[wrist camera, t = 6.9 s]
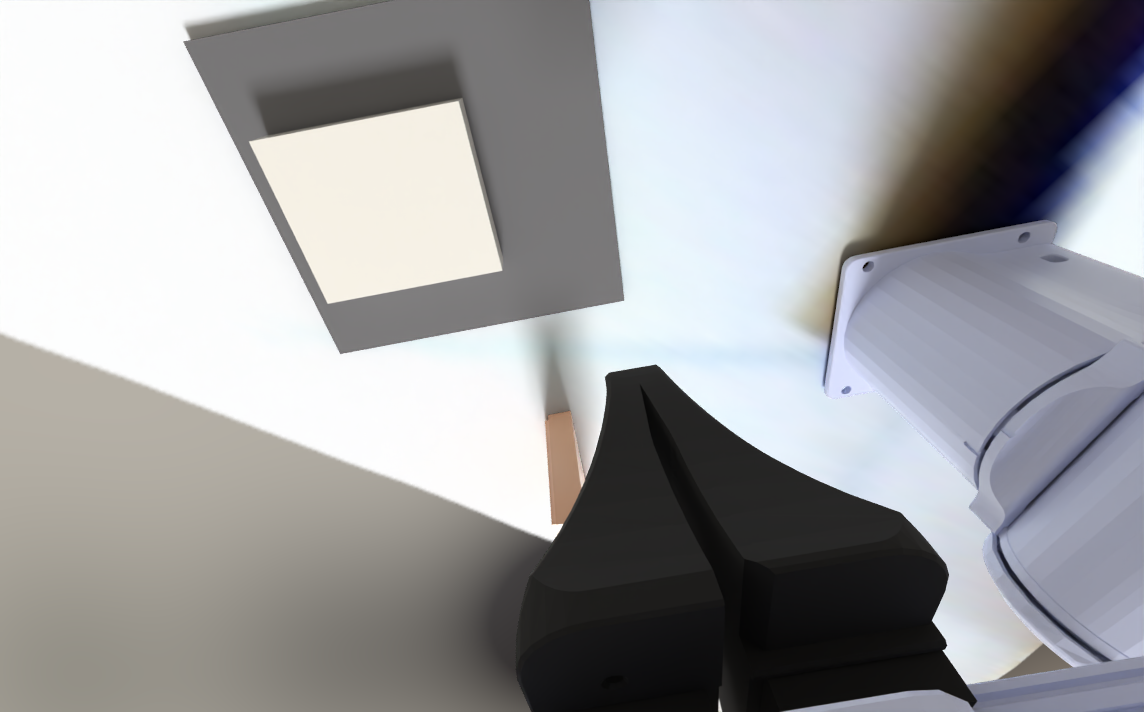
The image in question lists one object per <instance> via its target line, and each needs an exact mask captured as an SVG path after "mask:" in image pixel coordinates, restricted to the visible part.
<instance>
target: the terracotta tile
mask: <svg viewBox="0 0 1144 712" xmlns="http://www.w3.org/2000/svg"><path fill="white" fill-rule="evenodd" d="M545 427H546V442H547V458H548V473H549V488H550V504H551V519H552V527H553V531H554V534H555V538H556V536H557V534H558V532H559V531H560V529H561V527H562V525H563V524H564V522H565V520H566V518H567V517H568V515H569V513H570V511H571V509H572V507H573V505H574V503H575V501H576V499H577V497H578V495H579V493H580V490H581V488H582V486H583V484H584V481H585V476H584V472H583V467H582V462H581V458H580V453H579V448H578V443H577V439H576V434H575V429H574V425H573V420H572V415H571V411H567V412H561V413H556V414H551V415H548V420H547V421H545Z"/></svg>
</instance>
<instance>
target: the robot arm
mask: <svg viewBox="0 0 1144 712" xmlns="http://www.w3.org/2000/svg"><path fill="white" fill-rule="evenodd" d="M1056 232H1057V224H1056V223H1055V222H1052V221H1049V220H1041V221H1035V222H1030V223H1025V224H1019V225H1014V226H1009V227H1003V228H998V229H993V230H987V231H982V232H977V233H972V234H966V235H961V236H956V237H950V238H945V239H940V240H934V241H929V242H924V243H918V244H913V245H908V246H903V247H897V248H892V249H887V250H881V251H876V252H871V253H865V254H860V255H855V256H852V257H850V258H848V259H847V260H846V261H845V262H844V264H843V266H842V271H841V278H840V285H839V292H838V298H837V305H836V312H835V319H834V325H833V332H832V339H831V346H830V353H829V359H828V366H827V373H826V380H825V386H824V393H825V394H826V395H827V396H828V398H830V399H837V398H843V397H848V396H854V395H859V394H865V393H870V392H875V391H876V392H877V393H878V394H879V395H880V396H881V397H882V398H883V399H884V400H885V401H886V402H887V403H888V404H889V405H890V406H891V407H892V408H893V409H894V410H895V411H896V412H897V413H898V414H899V415H900V416H901V417H903V418H904V419H905V420H906V421H907V422H908V423H909V424H910V425H911V426H912V427H913V428H914V429H915V430H916V431H917V432H918V433H919V434H920V435H921V436H922V437H923V438H924V439H925V440H926V441H927V442H928V443H929V444H930V445H931V446H932V447H933V448H934V449H936V450H937V451H938V452H939V453H940V454H941V455H942V456H943V457H944V458H945V459H946V460H947V461H948V462H949V463H950V464H951V465H952V466H953V467H954V468H955V469H956V470H957V471H958V472H959V473H960V474H961V475H962V476H963V477H964V478H965V479H966V480H968V481H969V482H970V483H971V484H972V485H973V486H974V487H975V488H976V489H977V490H978V493H977V495H976V497H975V499H974V500H973V501H972V502H971V504H970V505H969V509H970V510H971V511H972V512H973V513H974V514H975V515H976V516H977V517H978V518H979V519H980V520H981V521H982V522H983V523H984V524H985V525H986V526H987V527H988V528H989V529H990V530H991V531H992V532H991V533H990V534H989V535H988V536H987V538H986V539H985V541H984V544H983V549H982V550H983V558H984V561H985V564H986V566H987V569H988V572H989V574H990V575H991V577H992V579H993V581H994V583H995V584H996V586H997V588H998V590H999V592H1000V593H1001V595H1002V597H1003V598H1004V600H1005V601H1006V603H1007V604H1008V605H1009V607H1010V608H1011V609H1012V611H1013V612H1014V613H1015V614H1016V615H1017V617H1018V618H1019V619H1020V620H1021V621H1022V622H1023V623H1024V624H1025V625H1026V627H1027V628H1028V629H1029V630H1030V631H1031V632H1032V633H1033V634H1034V635H1035V636H1036V637H1038V638H1039V639H1040V640H1041V641H1042V642H1043V643H1044V644H1045V645H1046V646H1047V647H1049V648H1050V649H1051V650H1052V651H1053V652H1055V653H1056V654H1057V655H1058V656H1060V657H1061V658H1062V659H1063V660H1065V661H1066V662H1067V663H1069V664H1070V665H1071V666H1073V668H1067V669H1060V670H1054V671H1049V672H1042V673H1036V674H1030V675H1024V676H1018V677H1012V678H1006V679H999V680H993V681H987V682H981V683H975V684H969V685H966V684H965V682H964V681H963V679H962V678H961V676H960V675H959V674H958V672H957V671H956V669H955V668H954V666H953V665H952V663H951V662H950V661H949V659H948V658H947V656H946V655H945V653H944V652H943V651H942V650H945V648H946V646H947V644H946V640H945V638H944V637H943V636H942V634H941V633H940V631H939V630H938V629H937V627H936V626H935V624H934V623H933V622H932V619H933V617H934V615H935V612H936V610H937V608H938V606H939V604H940V601H941V599H942V597H943V595H944V593H945V590H946V585H947V581H948V577H949V573H948V570H947V566H946V564H945V562H944V561H943V560H942V559H941V557H940V556H939V555H938V554H937V553H936V551H935V550H934V549H933V548H932V546H931V545H930V544H929V543H928V541H927V540H926V539H925V538H924V537H923V536H922V534H921V533H920V532H919V531H918V530H917V529H916V528H915V527H914V526H913V525H912V524H911V523H910V522H909V521H908V520H907V519H906V518H905V517H904V516H903V514H902V513H900V512H897V511H895V510H892V509H889V508H886V507H883V506H881V505H878V504H875V503H872V502H870V501H867V500H864V499H861V498H859V497H856V496H853V495H850V494H848V493H845V492H843V491H841V490H838V489H836V488H834V487H831V486H829V485H827V484H824V483H822V482H820V481H817V480H815V479H813V478H811V477H809V476H807V475H805V474H803V473H800V472H799V471H797V470H795V469H793V468H791V467H789V466H787V465H785V464H783V463H781V462H779V461H778V460H776V459H774V458H772V457H770V456H769V455H767V454H765V453H763V452H762V451H760V450H758V449H757V448H755V447H754V446H752V445H751V444H749V443H747V442H746V441H744V440H743V439H741V438H740V437H739V436H737V435H736V434H734V433H733V432H732V431H730V430H729V429H728V428H726V427H725V426H724V425H722V424H721V423H720V422H718V421H717V420H716V419H715V418H713V417H712V416H711V415H710V414H708V413H707V412H706V411H705V410H704V409H703V408H701V407H700V406H699V405H698V404H697V403H696V402H694V401H693V400H692V399H691V398H690V397H689V396H688V395H687V394H686V393H685V392H684V391H682V390H681V389H680V388H679V387H678V386H677V385H676V384H675V383H674V382H673V381H672V380H671V379H670V378H669V377H668V376H667V374H666V373H665V372H664V371H663V370H662V369H661V368H660V367H659V366H657V365H651V366H645V367H639V368H634V369H628V370H622V371H616V372H610V373H608V374H607V376H606V377H605V380H606V387H607V396H606V406H605V412H604V418H603V424H602V428H601V432H600V436H599V440H598V444H597V447H596V451H595V454H594V457H593V460H592V463H591V466H590V469H589V471H588V474H587V476H586V479H585V481H584V484H583V486H582V488H581V490H580V493H579V495H578V497H577V499H576V501H575V503H574V505H573V507H572V509H571V511H570V513H569V515H568V517H567V518H566V520H565V522H564V524H563V525H562V527H561V529H560V531H559V532H558V534H557V536H556V538H555V539H554V541H553V542H552V544H551V546H550V547H549V549H548V550H547V551H546V553H545V554H544V556H543V557H542V559H541V560H540V562H539V563H538V564H537V566H536V567H535V569H534V570H533V571H532V573H531V575H530V576H529V580H528V583H527V587H526V591H525V594H524V598H523V602H522V606H521V610H520V616H519V621H518V629H517V637H516V673H517V680H518V682H519V685H520V687H521V689H522V691H523V694H524V696H525V698H526V701H527V703H528V705H529V707H530V710H531V712H718V706H719V701H720V705H721V709H722V712H1144V278H1143V277H1140V276H1138V275H1135V274H1132V273H1129V272H1127V271H1124V270H1121V269H1119V268H1116V267H1113V266H1111V265H1108V264H1105V263H1102V262H1100V261H1097V260H1094V259H1092V258H1089V257H1086V256H1083V255H1081V254H1078V253H1075V252H1073V251H1070V250H1067V249H1065V248H1062V247H1059V246H1056V245H1054V244H1052V242H1053V240H1054V237H1055V234H1056ZM1021 234H1022V235H1021ZM1020 235H1021V237H1020V238H1019V236H1020ZM866 262H869V264H868V266H866V267H865V268H863V266H864V264H865V263H866ZM844 387H846V388H844ZM843 388H844V389H843Z"/></svg>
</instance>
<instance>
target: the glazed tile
mask: <svg viewBox="0 0 1144 712" xmlns="http://www.w3.org/2000/svg"><path fill="white" fill-rule="evenodd" d="M249 143H250V145H251V147H252V149H253V151H254V153H255V155H256V157H257V159H258V162H259V164H260V166H261V168H262V170H263V172H264V174H265V176H266V178H267V180H268V182H269V184H270V186H271V188H272V190H273V192H274V194H275V196H276V198H277V201H278V203H279V205H280V207H281V209H282V211H283V213H284V215H285V217H286V219H287V221H288V223H289V225H290V227H291V229H292V231H293V233H294V235H295V237H296V240H297V242H298V244H299V246H300V248H301V250H302V252H303V254H304V256H305V258H306V260H307V262H308V264H309V266H310V268H311V270H312V272H313V274H314V276H315V279H316V281H317V283H318V285H319V287H320V289H321V291H322V293H323V295H324V297H325V299H326V301H327V303H328V304H330V303H335V302H340V301H345V300H351V299H356V298H361V297H366V296H372V295H377V294H382V293H388V292H393V291H398V290H403V289H409V288H414V287H419V286H424V285H430V284H435V283H440V282H446V281H451V280H456V279H461V278H467V277H472V276H477V275H482V274H488V273H493V272H498V271H502V270H503V256H502V252H501V248H500V244H499V240H498V237H497V233H496V229H495V225H494V221H493V217H492V213H491V209H490V205H489V201H488V197H487V193H486V189H485V185H484V181H483V178H482V174H481V170H480V166H479V162H478V158H477V154H476V150H475V146H474V142H473V138H472V134H471V130H470V126H469V122H468V119H467V115H466V111H465V107H464V103H463V99H462V98H458V99H453V100H448V101H443V102H438V103H433V104H427V105H422V106H417V107H412V108H407V109H402V110H397V111H391V112H386V113H381V114H376V115H371V116H366V117H361V118H355V119H350V120H345V121H340V122H335V123H330V124H325V125H319V126H314V127H309V128H304V129H299V130H294V131H288V132H283V133H278V134H273V135H268V136H264V137H261V138H258V139H255V140H252V141H249Z"/></svg>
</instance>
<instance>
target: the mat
mask: <svg viewBox="0 0 1144 712" xmlns="http://www.w3.org/2000/svg"><path fill="white" fill-rule="evenodd" d="M184 44H185V46H186V48H187V50H188V52H189V54H190V56H191V58H192V60H193V62H194V64H195V66H196V68H197V70H198V72H199V74H200V76H201V78H202V80H203V82H204V84H205V86H206V88H207V90H208V92H209V94H210V96H211V98H212V100H213V102H214V104H215V106H216V108H217V110H218V112H219V114H220V116H221V118H222V120H223V122H224V123H225V125H226V127H227V129H228V131H229V133H230V135H231V137H232V139H233V141H234V143H235V145H236V147H237V149H238V151H239V153H240V155H241V157H242V159H243V161H244V163H245V165H246V167H247V169H248V171H249V173H250V175H251V177H252V179H253V181H254V183H255V185H256V187H257V189H258V191H259V193H260V195H261V197H262V199H263V201H264V203H265V205H266V207H267V209H268V211H269V213H270V215H271V217H272V219H273V221H274V223H275V225H276V227H277V229H278V231H279V233H280V235H281V237H282V239H283V241H284V243H285V245H286V247H287V249H288V251H289V253H290V255H291V257H292V259H293V261H294V263H295V265H296V267H297V269H298V271H299V273H300V275H301V277H302V279H303V281H304V283H305V285H306V287H307V289H308V291H309V293H310V294H311V296H312V298H313V300H314V302H315V304H316V306H317V308H318V310H319V312H320V314H321V316H322V318H323V320H324V322H325V324H326V326H327V328H328V330H329V332H330V334H331V336H332V338H333V340H334V342H335V344H336V346H337V348H338V350H339V352H340V354H343V353H348V352H353V351H359V350H364V349H369V348H375V347H380V346H385V345H391V344H396V343H401V342H406V341H412V340H417V339H422V338H428V337H433V336H438V335H444V334H449V333H454V332H460V331H465V330H470V329H476V328H481V327H486V326H491V325H497V324H502V323H507V322H513V321H518V320H523V319H529V318H534V317H539V316H545V315H550V314H555V313H560V312H566V311H571V310H576V309H582V308H587V307H592V306H598V305H603V304H608V303H614V302H619V301H624V294H623V286H622V277H621V269H620V260H619V252H618V243H617V235H616V226H615V218H614V209H613V200H612V192H611V183H610V175H609V166H608V158H607V149H606V141H605V132H604V124H603V115H602V106H601V98H600V89H599V81H598V72H597V64H596V55H595V47H594V38H593V30H592V21H591V13H590V4H589V0H392V1H387V2H382V3H377V4H372V5H367V6H362V7H357V8H351V9H346V10H341V11H336V12H331V13H326V14H321V15H316V16H311V17H306V18H301V19H296V20H291V21H286V22H280V23H275V24H270V25H265V26H260V27H255V28H250V29H245V30H240V31H235V32H230V33H225V34H220V35H215V36H210V37H204V38H199V39H194V40H189V41H184ZM458 98H462V99H463V103H464V107H465V111H466V115H467V119H468V122H469V126H470V130H471V134H472V138H473V142H474V146H475V150H476V154H477V158H478V162H479V166H480V170H481V174H482V178H483V181H484V185H485V189H486V193H487V197H488V201H489V205H490V209H491V213H492V217H493V221H494V225H495V229H496V233H497V237H498V240H499V244H500V248H501V252H502V256H503V270H502V271H498V272H493V273H488V274H482V275H477V276H472V277H467V278H461V279H456V280H451V281H446V282H440V283H435V284H430V285H424V286H419V287H414V288H409V289H403V290H398V291H393V292H388V293H382V294H377V295H372V296H366V297H361V298H356V299H351V300H345V301H340V302H335V303H330V304H328V303H327V301H326V299H325V297H324V295H323V293H322V291H321V289H320V287H319V285H318V283H317V281H316V279H315V276H314V274H313V272H312V270H311V268H310V266H309V264H308V262H307V260H306V258H305V256H304V254H303V252H302V250H301V248H300V246H299V244H298V242H297V240H296V237H295V235H294V233H293V231H292V229H291V227H290V225H289V223H288V221H287V219H286V217H285V215H284V213H283V211H282V209H281V207H280V205H279V203H278V201H277V198H276V196H275V194H274V192H273V190H272V188H271V186H270V184H269V182H268V180H267V178H266V176H265V174H264V172H263V170H262V168H261V166H260V164H259V162H258V159H257V157H256V155H255V153H254V151H253V149H252V147H251V145H250V143H249V141H252V140H255V139H258V138H261V137H264V136H268V135H273V134H278V133H283V132H288V131H294V130H299V129H304V128H309V127H314V126H319V125H325V124H330V123H335V122H340V121H345V120H350V119H355V118H361V117H366V116H371V115H376V114H381V113H386V112H391V111H397V110H402V109H407V108H412V107H417V106H422V105H427V104H433V103H438V102H443V101H448V100H453V99H458Z"/></svg>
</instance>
